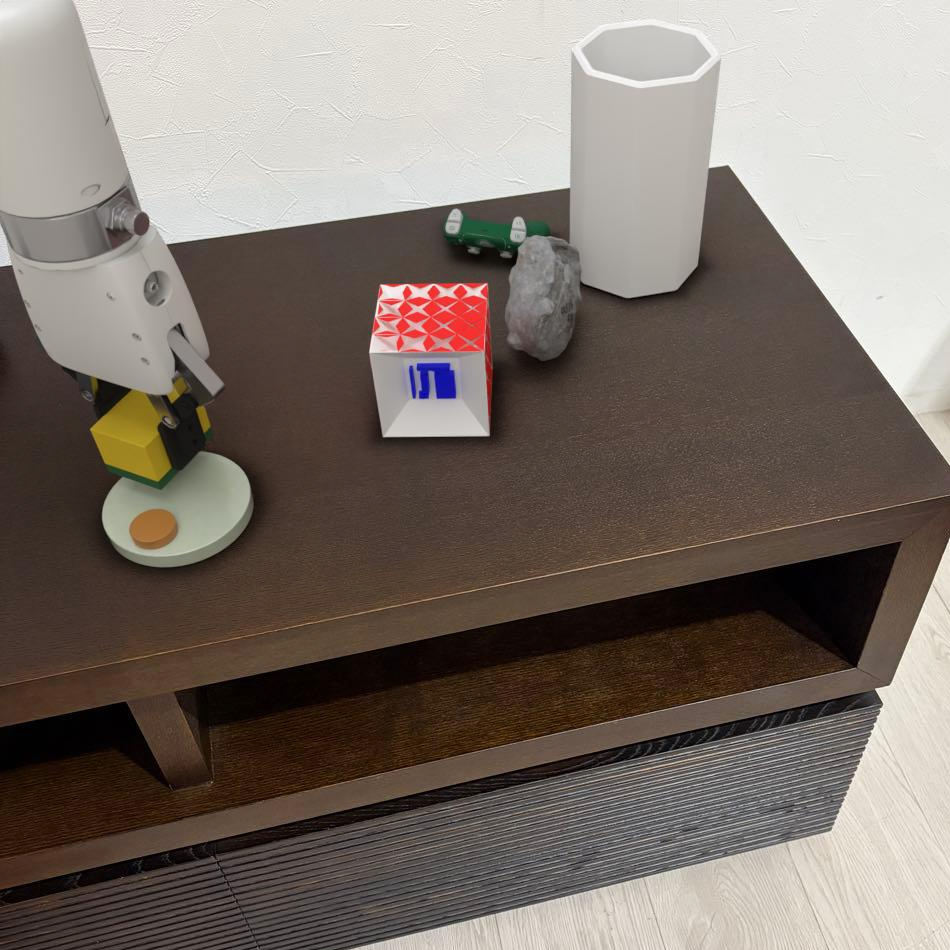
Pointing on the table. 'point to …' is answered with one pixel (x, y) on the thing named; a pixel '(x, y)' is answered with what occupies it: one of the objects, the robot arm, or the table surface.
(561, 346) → the stone
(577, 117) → the cup
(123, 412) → the sponge
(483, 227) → the gaming controller
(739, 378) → the table surface
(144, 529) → the orange flat disc
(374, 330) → the puzzle cube
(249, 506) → the plate
